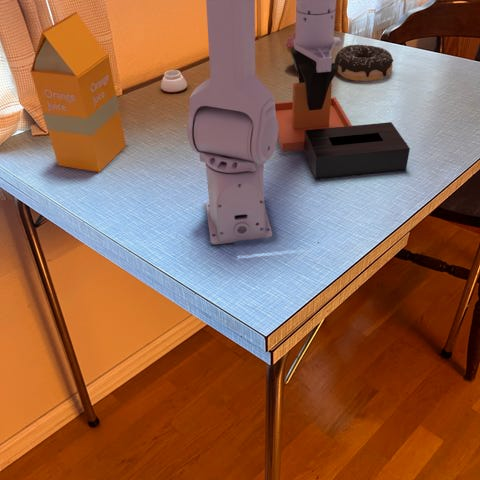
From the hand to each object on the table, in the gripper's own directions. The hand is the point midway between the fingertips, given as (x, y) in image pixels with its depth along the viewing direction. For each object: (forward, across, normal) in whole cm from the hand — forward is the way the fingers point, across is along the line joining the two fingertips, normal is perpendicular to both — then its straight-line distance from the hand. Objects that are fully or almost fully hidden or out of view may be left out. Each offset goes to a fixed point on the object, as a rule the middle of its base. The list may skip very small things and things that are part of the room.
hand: (311, 101), depth 91 cm
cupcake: (+5, +26, -5) cm, 27 cm away
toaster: (+5, -12, -4) cm, 14 cm away
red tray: (+5, 0, 0) cm, 5 cm away
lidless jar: (+5, +22, +22) cm, 31 cm away
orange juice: (+5, -2, +36) cm, 36 cm away
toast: (+4, 0, 0) cm, 4 cm away
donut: (+5, +22, -15) cm, 27 cm away
